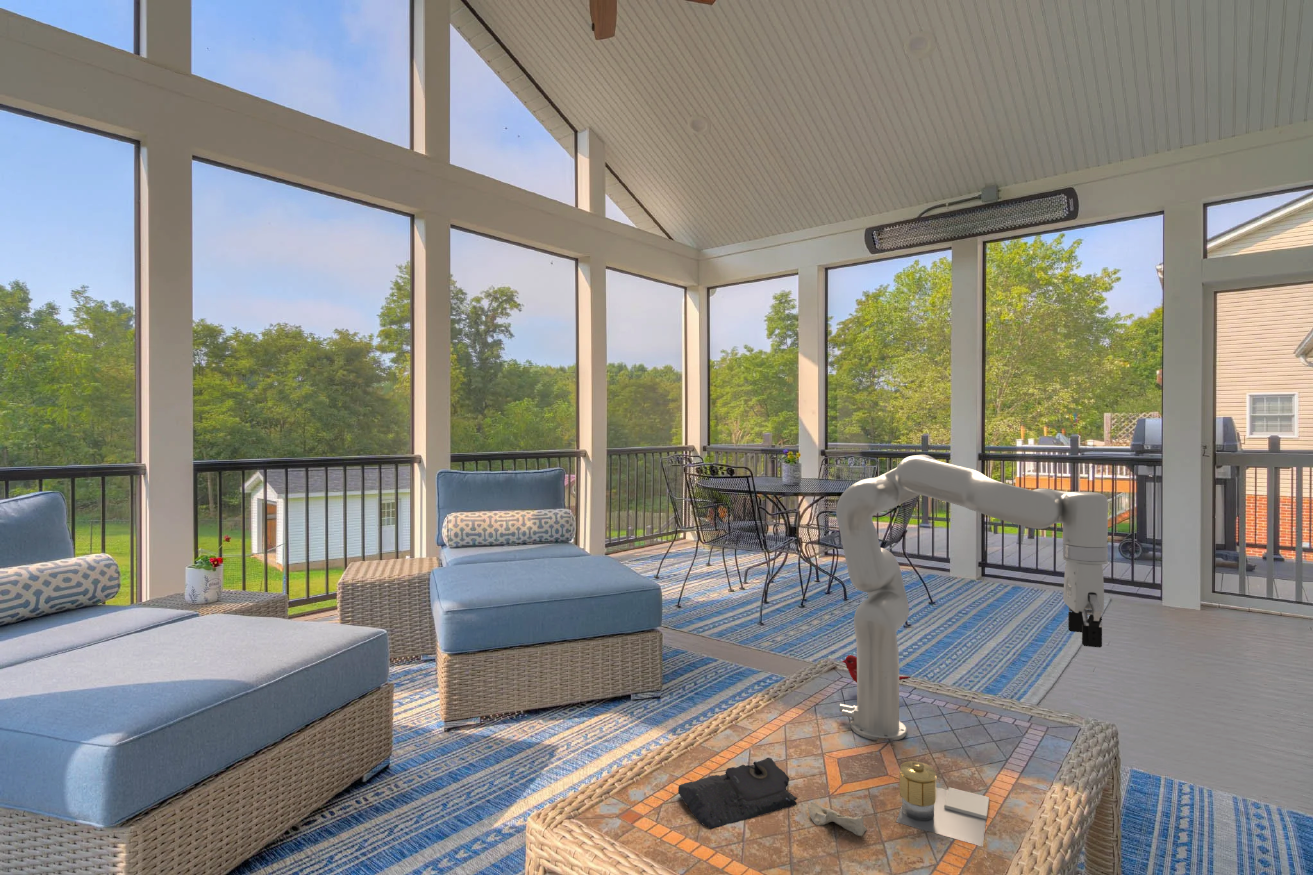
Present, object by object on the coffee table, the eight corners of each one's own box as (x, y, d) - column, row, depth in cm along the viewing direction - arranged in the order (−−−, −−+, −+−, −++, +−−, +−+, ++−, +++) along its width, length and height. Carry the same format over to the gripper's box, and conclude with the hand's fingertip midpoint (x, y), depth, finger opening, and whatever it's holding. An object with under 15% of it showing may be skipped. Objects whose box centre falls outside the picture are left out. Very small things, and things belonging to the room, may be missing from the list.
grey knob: (899, 815, 119) (899, 778, 119) (905, 801, 123) (905, 765, 123) (931, 824, 116) (931, 786, 116) (935, 809, 121) (935, 772, 121)
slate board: (895, 827, 117) (895, 821, 117) (911, 785, 131) (911, 780, 131) (982, 852, 110) (982, 846, 110) (989, 805, 124) (989, 800, 124)
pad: (944, 807, 121) (944, 804, 121) (948, 790, 127) (949, 787, 127) (986, 819, 118) (986, 815, 118) (989, 800, 124) (989, 797, 124)
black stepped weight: (668, 792, 130) (668, 769, 130) (760, 768, 139) (760, 746, 139) (705, 835, 116) (705, 808, 116) (805, 804, 125) (805, 780, 125)
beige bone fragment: (812, 812, 122) (812, 789, 122) (869, 830, 116) (869, 805, 116) (802, 828, 117) (802, 803, 117) (861, 847, 112) (861, 821, 112)
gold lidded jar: (897, 799, 119) (897, 768, 119) (903, 784, 124) (903, 753, 124) (933, 809, 116) (933, 776, 116) (937, 793, 121) (937, 761, 121)
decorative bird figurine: (842, 688, 181) (842, 652, 181) (910, 698, 174) (910, 660, 174) (841, 691, 178) (841, 655, 178) (910, 702, 171) (910, 664, 171)
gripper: (1052, 545, 140) (1052, 624, 140) (1075, 560, 123) (1074, 650, 124) (1093, 547, 137) (1093, 628, 137) (1121, 563, 121) (1121, 654, 121)
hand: (1084, 638), depth 131 cm, fingers open, 9 cm apart
